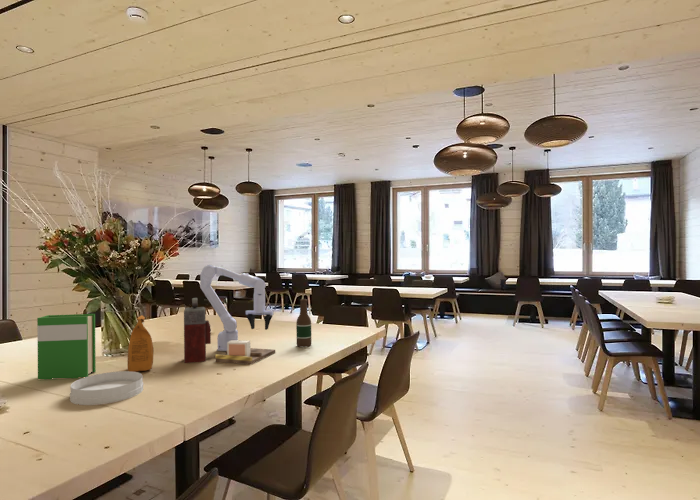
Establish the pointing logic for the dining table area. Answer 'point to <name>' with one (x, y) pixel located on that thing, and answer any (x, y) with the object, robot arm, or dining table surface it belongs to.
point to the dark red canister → (195, 333)
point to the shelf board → (255, 356)
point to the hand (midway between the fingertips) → (259, 329)
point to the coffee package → (140, 348)
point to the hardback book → (66, 346)
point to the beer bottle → (303, 326)
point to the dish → (106, 388)
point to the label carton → (239, 348)
